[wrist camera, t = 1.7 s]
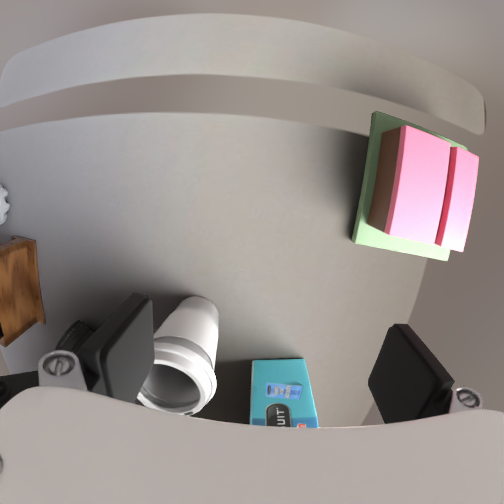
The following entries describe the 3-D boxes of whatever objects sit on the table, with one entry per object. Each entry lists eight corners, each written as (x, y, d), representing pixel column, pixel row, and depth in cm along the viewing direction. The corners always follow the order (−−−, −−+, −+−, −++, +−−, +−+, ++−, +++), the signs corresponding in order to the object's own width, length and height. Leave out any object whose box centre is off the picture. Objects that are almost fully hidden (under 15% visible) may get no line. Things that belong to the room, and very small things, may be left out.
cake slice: (428, 148, 23) (457, 146, 18) (449, 157, 23) (479, 156, 18) (414, 234, 25) (440, 246, 20) (435, 239, 25) (462, 252, 20)
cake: (381, 132, 23) (406, 124, 18) (422, 146, 23) (451, 143, 18) (366, 224, 25) (388, 235, 20) (407, 233, 25) (434, 245, 20)
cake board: (371, 113, 23) (376, 110, 22) (461, 148, 23) (467, 147, 22) (351, 240, 27) (354, 243, 26) (441, 258, 27) (447, 261, 26)
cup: (190, 351, 31) (161, 428, 19) (155, 305, 29) (105, 371, 18) (243, 325, 29) (233, 406, 18) (207, 274, 28) (173, 338, 16)
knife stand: (14, 235, 28) (-28, 251, 20) (36, 240, 28) (-9, 258, 20) (24, 313, 31) (-10, 338, 23) (46, 323, 31) (12, 351, 23)
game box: (250, 358, 30) (232, 608, 4) (306, 357, 30) (349, 599, 4) (251, 454, 36) (243, 604, 10) (292, 454, 36) (301, 602, 9)
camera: (105, 280, 29) (65, 310, 21) (152, 322, 30) (124, 363, 22) (67, 348, 32) (37, 379, 24) (106, 381, 33) (81, 417, 25)
